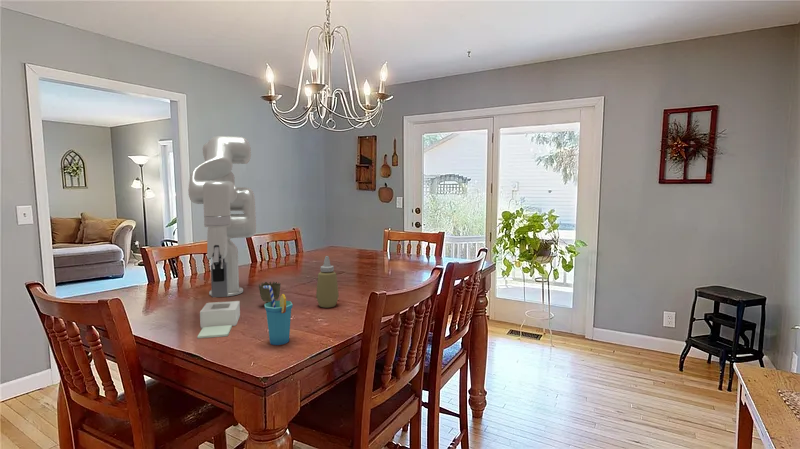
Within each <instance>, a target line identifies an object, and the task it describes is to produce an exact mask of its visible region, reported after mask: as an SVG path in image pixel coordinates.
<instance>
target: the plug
mask: <svg viewBox="0 0 800 449" xmlns="http://www.w3.org/2000/svg"><path fill="white" fill-rule="evenodd" d="M223 268H224V281H220V282H213V263H212V262H211V265H210V276H211V277H210V280H211V281H210V282H211V285H210V286H211V290H212V296H211V298H224V297H225V298H227V297H229V296H228V262H224V263H223Z"/></svg>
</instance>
